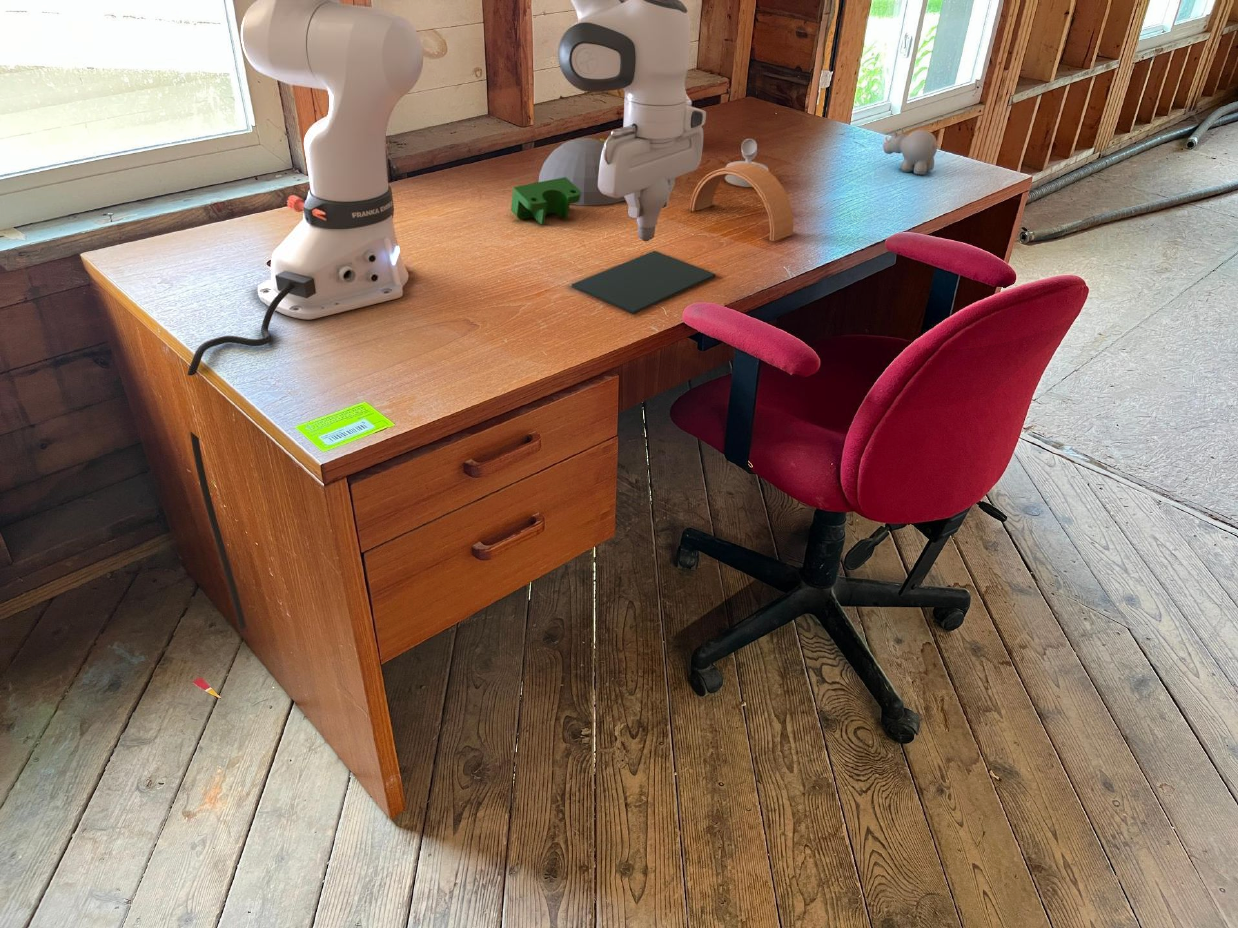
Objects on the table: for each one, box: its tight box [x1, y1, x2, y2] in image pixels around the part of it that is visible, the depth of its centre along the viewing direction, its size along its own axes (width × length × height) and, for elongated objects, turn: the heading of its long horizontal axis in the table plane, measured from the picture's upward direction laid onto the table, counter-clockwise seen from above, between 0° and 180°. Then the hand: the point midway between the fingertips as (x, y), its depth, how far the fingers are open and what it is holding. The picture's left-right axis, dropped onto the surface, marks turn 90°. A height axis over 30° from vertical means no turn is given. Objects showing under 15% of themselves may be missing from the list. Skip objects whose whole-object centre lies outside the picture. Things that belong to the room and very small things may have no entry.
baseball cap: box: [537, 137, 626, 206], centre depth 182 cm, size 19×26×12 cm
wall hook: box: [724, 138, 769, 188], centre depth 188 cm, size 9×10×10 cm
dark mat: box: [571, 250, 716, 315], centre depth 148 cm, size 20×13×1 cm, turn 138°
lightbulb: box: [636, 177, 670, 242], centre depth 142 cm, size 6×6×11 cm
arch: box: [689, 163, 794, 242], centre depth 169 cm, size 6×20×10 cm, turn 44°
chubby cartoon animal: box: [882, 128, 938, 176], centre depth 200 cm, size 7×12×8 cm, turn 47°
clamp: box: [510, 177, 581, 226], centre depth 168 cm, size 12×6×9 cm, turn 120°
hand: (648, 211), depth 142 cm, fingers closed on lightbulb, 4 cm apart
